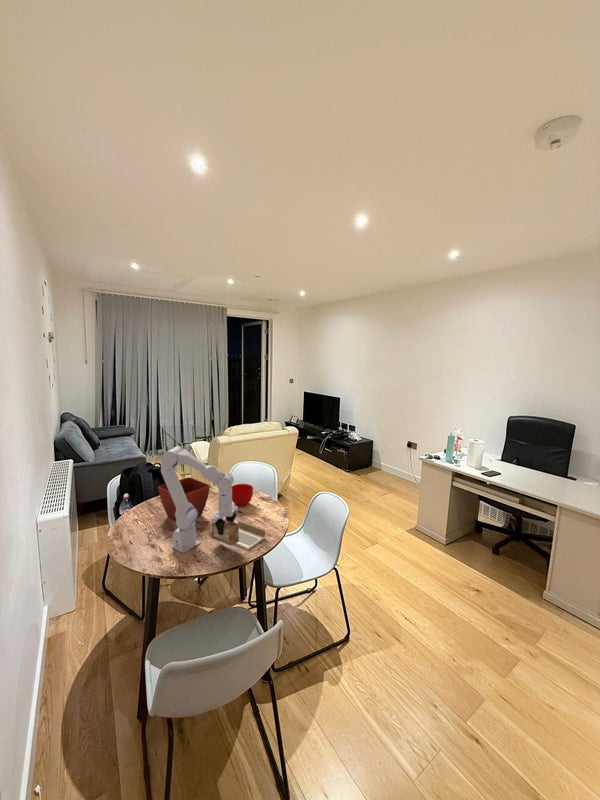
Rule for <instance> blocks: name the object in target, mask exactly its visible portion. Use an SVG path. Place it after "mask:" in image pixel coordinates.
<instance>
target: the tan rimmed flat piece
mask: <svg viewBox="0 0 600 800" xmlns="http://www.w3.org/2000/svg"><path fill="white" fill-rule="evenodd" d="M237 524H239V542H237V543H236V544H234V545H235V546H237V547H239V548H243V549H245V550H247V551H249V550H251V549H252V548H254V546H256V545H258V544H259V543H260V542H262V541H263V540H265V539H266V529H264V528H261V527H258V526H255V525H252V524H250V523H247V522H245V521H242V520H238V521H237Z"/></svg>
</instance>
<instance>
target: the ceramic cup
mask: <svg viewBox="0 0 600 800" xmlns="http://www.w3.org/2000/svg"><path fill="white" fill-rule="evenodd" d="M231 486H232V503H233V504H234V506H237V507H238V508H244V507H246V506H248V504H249V503H250V502H251V500H252V499H253V494H254V488H253V487H254V486H253V485H250V484H248V483H238V484H234V485H231Z"/></svg>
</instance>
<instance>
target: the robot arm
mask: <svg viewBox="0 0 600 800" xmlns="http://www.w3.org/2000/svg"><path fill="white" fill-rule="evenodd" d="M160 461H161V463H160V464H161V465H160V472H161V475H162V478H163V480H164V483H165V484H166V485H167V487H168V490H169V492H170V495H171V497H172V499H173V502H174V504H175V506H176V513H175V517H176V521H175V523H176V526H177V528H176V529H175V530H173V532H172V545H171V548H172V549H174V550H175V551H178V552H180V553H182V554H184V553H186V552H188V551H189V550H191V549H192V548H194V547H196V546H198V545H199V544H201V541H198V540H197V522H196V519H197V518H198V517H197V516H198V512H197V510H196V509H195V508H194V507H193V505H192V503H189V502H188V500H187V498H186V495H185V493H184V490H183V488H182V486H181V483H180V481H179V480H180V478H179V477H178V474H177V471H176V469H177V467H178V466H179V465H188V466H189V467H191V468H193V469H195V470H197V471H199V472H201V473H202V477H203V478H205V479H207V480H208V481H210V482H211V483H213V484H215V485H216V488H217V490H218V503H217V504H218V510H217V512H216V513H215V514H214V515H213V516H212V517H211V518H210V522H211V524H212V523H215V525H216V527H217V530H218V534H219V535H223V530H224V524H225V521H223V519H222V518H224V519H226V520H229V521H232V522H235V519H237V518H236V517H238V516H237V515H238V514H237V513H236V512H238V511H239V507H238V506H236V505H233V501H232V486H233V484H234V481H235V479H234V477H233V475H232V474H231V473H228V472H226V473H225V472H224V471H221V470H220V469H218V468H217V466H215V465H210V464H209V465H206V464H205V463H204V462H202V461H201V460H200V459H198V458H197V457H195V456H194V455H193V454H191V453H190V452H189V451H188V450H187V449H185V448H183V447H182V446H180V445H179V446H178V445H177V446H174V447H173V448H171V449H170V450H167V451H165V452H164V453H163V454H162V456H161V457H160Z"/></svg>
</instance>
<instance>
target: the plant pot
mask: <svg viewBox="0 0 600 800" xmlns="http://www.w3.org/2000/svg"><path fill="white" fill-rule="evenodd" d="M179 481H180V483H181V486H182V488H183V490H184V493H185V495H186V498H187V500H188V502H189V503H192V505H193V507H194V508H195V509H196V510H197V512H198V516H197V518H199V517H201V516H202V515H203V513H204V510H205V508H206V505H207V502H208V497H209V494H210V488H211V487H210V486H211V484H208V483H206V482H203V481H201V480H198V479H196V478H193V477H185V478H182V479H179ZM157 489H158V493H159V498H160V501H161V504H162V507H163V509H164V511H165V514H166V516H167V518H169V519H170V520H172V521H174V522H176V517H175V513H176V506H175V504H174V502H173V499H172V497H171V495H170V492H169V490H168V487H167V485H166V483H165V484H161V485H159V486H157Z"/></svg>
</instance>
